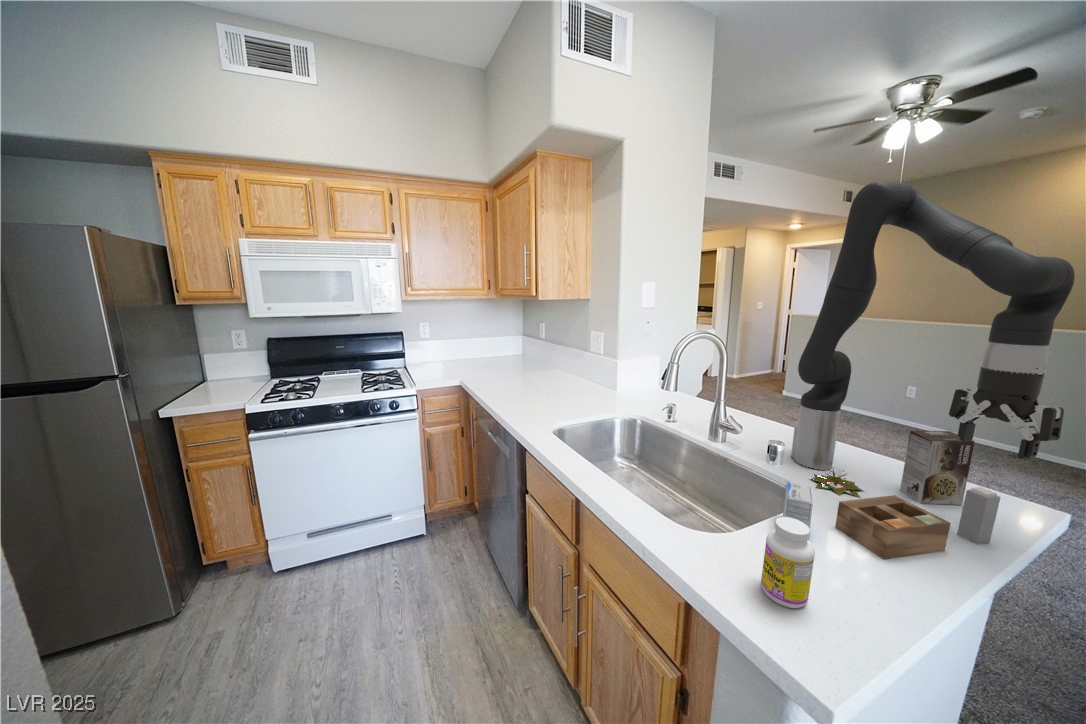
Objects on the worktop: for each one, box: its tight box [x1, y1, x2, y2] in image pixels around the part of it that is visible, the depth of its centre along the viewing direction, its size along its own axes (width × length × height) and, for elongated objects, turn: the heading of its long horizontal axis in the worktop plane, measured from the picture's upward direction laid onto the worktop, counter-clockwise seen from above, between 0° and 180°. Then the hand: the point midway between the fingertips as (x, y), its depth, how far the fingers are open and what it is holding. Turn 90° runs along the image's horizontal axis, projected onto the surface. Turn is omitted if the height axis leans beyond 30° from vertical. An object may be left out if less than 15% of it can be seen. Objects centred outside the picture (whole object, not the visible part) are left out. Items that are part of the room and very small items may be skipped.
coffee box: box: [899, 430, 976, 506], centre depth 90 cm, size 9×6×16 cm
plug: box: [956, 486, 1001, 545], centre depth 75 cm, size 3×3×11 cm
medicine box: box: [782, 481, 813, 541], centre depth 79 cm, size 8×4×9 cm, turn 148°
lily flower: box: [811, 468, 864, 499], centre depth 97 cm, size 12×12×5 cm
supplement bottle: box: [760, 516, 816, 609], centre depth 61 cm, size 7×7×13 cm
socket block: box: [834, 494, 952, 560], centre depth 76 cm, size 10×14×6 cm
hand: (993, 449), depth 73 cm, fingers open, 8 cm apart
